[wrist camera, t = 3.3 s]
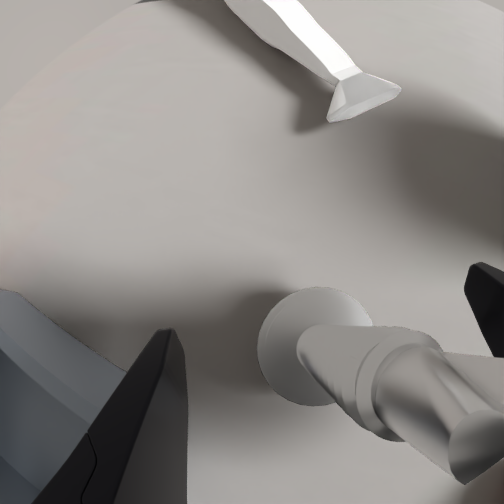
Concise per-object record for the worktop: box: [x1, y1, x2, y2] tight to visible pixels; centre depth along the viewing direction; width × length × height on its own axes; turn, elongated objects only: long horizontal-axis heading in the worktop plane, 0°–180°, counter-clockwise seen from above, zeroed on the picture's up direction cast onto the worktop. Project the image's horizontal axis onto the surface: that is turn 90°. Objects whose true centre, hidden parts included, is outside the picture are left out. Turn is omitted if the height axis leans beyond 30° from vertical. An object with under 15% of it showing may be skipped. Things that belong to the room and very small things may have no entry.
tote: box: [0, 289, 127, 504], centre depth 11 cm, size 12×12×5 cm
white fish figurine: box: [224, 0, 402, 123], centre depth 16 cm, size 6×18×4 cm, turn 32°
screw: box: [257, 287, 504, 485], centre depth 8 cm, size 13×5×5 cm
